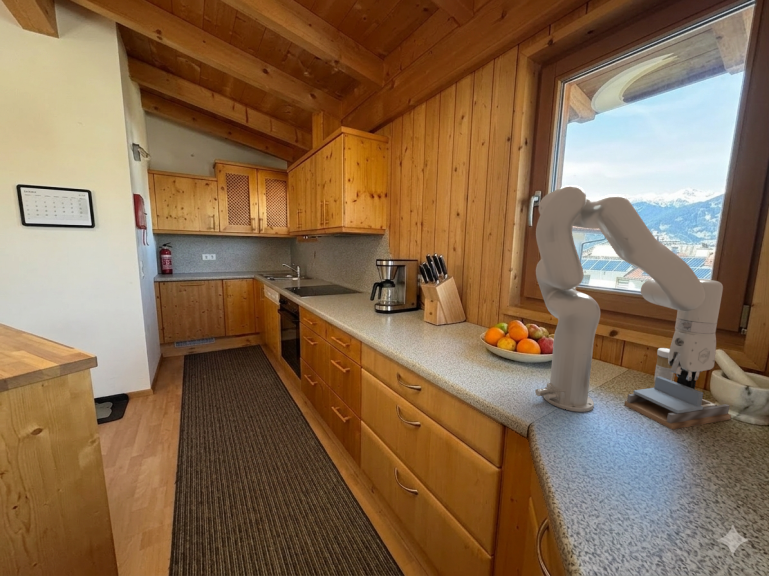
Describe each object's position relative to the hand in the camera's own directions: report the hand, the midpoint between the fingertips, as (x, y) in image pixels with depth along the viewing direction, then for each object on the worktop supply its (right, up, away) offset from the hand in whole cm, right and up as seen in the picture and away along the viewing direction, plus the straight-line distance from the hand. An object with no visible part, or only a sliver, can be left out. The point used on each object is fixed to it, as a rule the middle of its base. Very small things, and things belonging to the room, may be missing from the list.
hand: (684, 392), depth 84 cm
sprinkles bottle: (+4, -4, +11) cm, 13 cm away
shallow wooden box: (-2, -5, 0) cm, 6 cm away
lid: (-6, -2, -1) cm, 7 cm away
